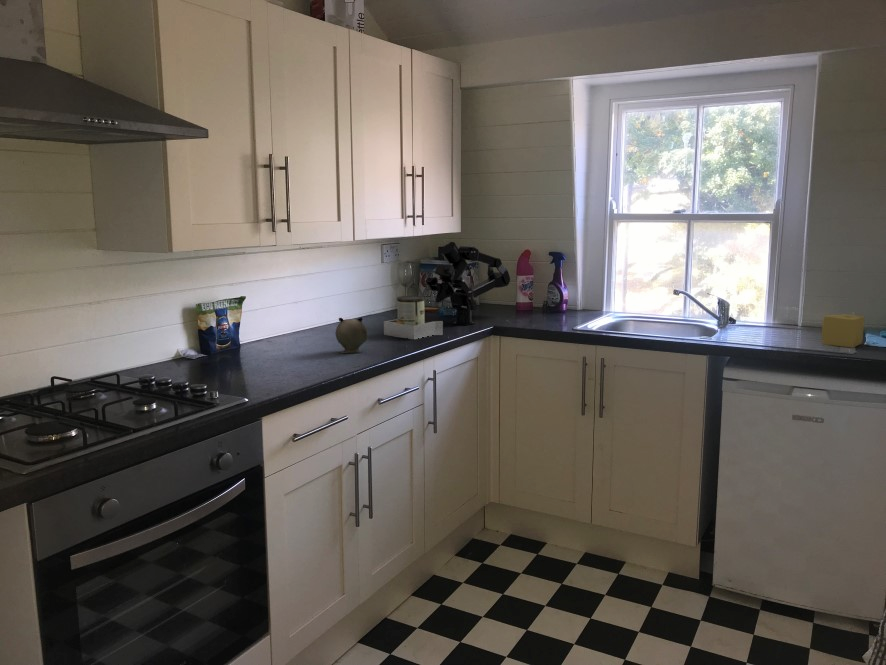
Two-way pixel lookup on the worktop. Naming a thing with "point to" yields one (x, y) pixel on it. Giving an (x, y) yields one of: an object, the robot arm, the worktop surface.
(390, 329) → the grey bent block
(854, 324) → the cheese
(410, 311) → the coffee can
